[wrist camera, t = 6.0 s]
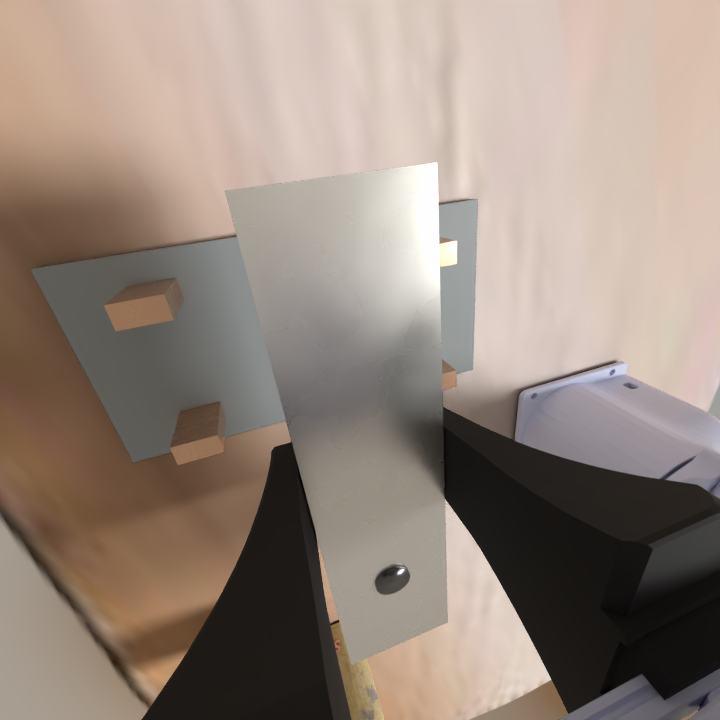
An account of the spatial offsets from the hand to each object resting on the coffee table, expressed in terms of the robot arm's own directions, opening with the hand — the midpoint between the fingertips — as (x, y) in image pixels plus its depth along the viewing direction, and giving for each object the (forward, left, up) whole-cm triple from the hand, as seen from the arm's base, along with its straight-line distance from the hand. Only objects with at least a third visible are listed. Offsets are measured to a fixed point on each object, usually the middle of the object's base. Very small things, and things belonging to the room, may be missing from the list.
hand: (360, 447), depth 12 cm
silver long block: (0, 0, -2) cm, 2 cm away
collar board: (0, -1, -9) cm, 9 cm away
